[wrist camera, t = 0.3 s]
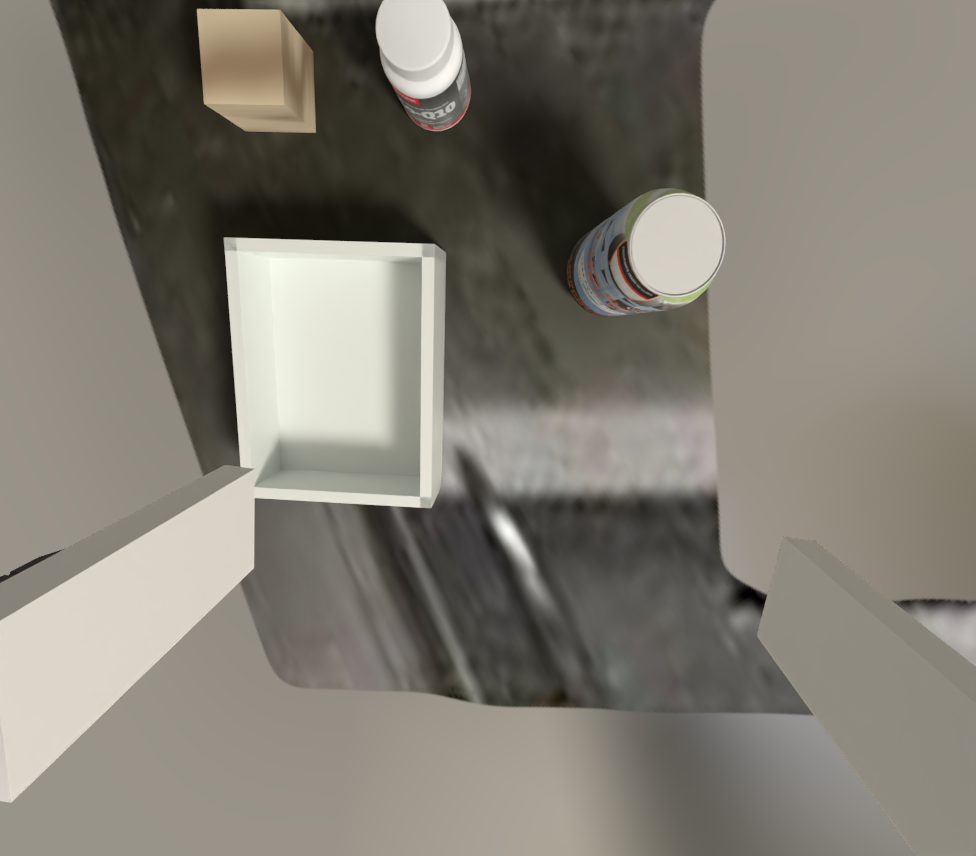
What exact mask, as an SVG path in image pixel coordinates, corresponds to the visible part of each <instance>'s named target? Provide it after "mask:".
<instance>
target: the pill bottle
mask: <svg viewBox="0 0 976 856" xmlns="http://www.w3.org/2000/svg"><path fill="white" fill-rule="evenodd" d="M376 37H377V41H378V44H379V47H380V58H381V63H382V66H383V69H384V72H385V74H386V76H387V78H388V80H389V82H390V83H391V85H392V87H393V89H394V90H395V92H396V94H397V96H398V98H399V99H400V101H401V103H402V105H403V107H404V109H405V111H406V112H407V114H408V115H409V117H410V118H411V119H412V120H413V121H414V122H415V123H416V124H417V125H419V126H420V127H422V128H424V129H427V130H431V131H443V130H446V129H449V128H451V127H452V126H454V125H455V124H457V123H458V122H459V121H460V120H461V119H462V117H463V116H464V114H465V112H466V110H467V108H468V105H469V102H470V97H471V85H470V79H469V75H468V70H467V65H466V60H465V55H464V51H463V46H462V40H461V37H460V34H459V31H458V29H457V26H456V24H455V23H454V21H453V20H452V18H451V17H450V15H449V12H448V10H447V7H446V5H445V3H444V2H443V0H383V2H382V3H381V5H380V8H379V10H378V13H377V17H376Z"/></svg>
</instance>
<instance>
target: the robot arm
mask: <svg viewBox="0 0 976 856" xmlns="http://www.w3.org/2000/svg"><path fill="white" fill-rule="evenodd" d="M254 484H255V469H252V468H244V467H236V466H229V465H224V466H222V467H220V468H218V469H216V470H215V471H213V472H211V473H209V474H207V475H205V476H203V477H201V478H199V479H197V480H195V481H194V482H192V483H190V484H188V485H186V486H184V487H182V488H180V489H178V490H176V491H175V492H173V493H171V494H169V495H167V496H165V497H163V498H161V499H159V500H158V501H156V502H154V503H152V504H150V505H148V506H146V507H144V508H142V509H140V510H139V511H136V512H135V513H133V514H131V515H129V516H127V517H125V518H123V519H121V520H119V521H117V522H116V523H114V524H112V525H110V526H108V527H106V528H104V529H102V530H100V531H98V532H97V533H95V534H93V535H91V536H89V537H87V538H85V539H83V540H81V541H79V542H77V543H75V544H74V545H72V546H70V547H68V548H66V549H63V550H60V551H57V552H54V553H51V554H48V555H44V556H41V557H38V558H37V559H35V560H33V561H31V562H29V563H27V564H25V565H23V566H21V567H19V568H17V569H15V570H13V571H11V572H10V574H9V576H8V575H4V576H1V577H0V801H4V802H12V801H13V800H14V799H15V798H17V796H19V795H20V794H21V792H23V791H24V790H25V789H26V788H27V787H28V786H29V785H30V784H31V783H32V782H33V781H34V780H35V779H36V778H37V777H38V776H39V775H40V774H41V773H42V772H43V771H44V770H45V769H46V768H48V766H50V764H52V763H53V762H54V761H55V760H56V759H57V758H58V757H59V756H60V755H61V754H62V753H63V752H64V751H65V750H66V749H67V748H68V747H69V746H70V745H71V744H72V743H73V742H74V741H75V740H77V739H78V738H79V736H81V735H82V734H83V733H84V732H85V731H86V730H87V729H88V728H89V727H90V726H91V725H92V724H93V723H94V722H95V721H96V720H97V719H98V718H99V717H100V716H101V715H102V714H103V713H104V712H105V711H107V710H108V709H109V708H110V707H111V706H112V705H113V704H114V703H115V702H116V701H117V700H118V699H119V698H120V697H121V696H122V695H123V694H124V693H125V692H126V691H127V690H128V689H129V688H130V687H131V686H132V685H133V684H134V683H135V682H136V681H138V680H139V679H140V678H141V677H142V676H143V675H144V674H145V673H146V672H147V671H148V670H149V669H150V668H151V667H152V666H153V665H154V664H155V663H156V662H157V661H158V660H159V659H160V658H161V657H162V656H163V655H164V654H165V653H166V652H168V651H169V650H170V649H171V648H172V647H173V646H174V644H176V643H177V642H178V641H179V640H180V639H181V638H182V637H183V636H184V635H185V634H186V633H187V632H188V631H189V630H190V629H191V628H192V627H193V626H194V625H195V624H196V623H198V622H199V621H200V620H201V619H202V618H203V617H204V616H205V615H206V614H207V613H208V612H209V611H210V610H211V609H212V608H213V607H214V606H215V605H216V604H217V603H218V602H219V601H220V600H221V599H222V598H223V597H224V596H225V595H226V594H227V593H228V592H230V591H231V590H232V589H233V588H234V587H235V586H236V585H237V584H238V583H239V582H240V581H241V580H242V579H243V578H244V577H245V576H246V575H247V574H248V573H249V572H250V571H251V570H252V569H253V568H254ZM757 637H758V638H759V640H760V641H761V643H762V644H763V645H764V647H765V648H766V649H767V651H768V652H769V654H770V655H771V656H772V658H773V659H774V661H775V662H776V663H777V665H778V666H779V667H780V669H781V670H782V672H783V673H784V674H785V676H786V677H787V679H788V680H789V681H790V683H791V684H792V685H793V687H794V688H795V690H796V691H797V692H798V694H799V695H800V697H801V698H802V699H803V701H804V702H805V703H806V705H807V706H808V708H809V709H810V710H811V712H812V713H813V715H814V716H815V717H816V719H817V720H818V721H819V723H820V724H821V726H822V727H823V728H824V730H825V731H826V733H827V734H828V735H829V737H830V738H831V740H832V741H833V742H834V744H835V745H836V746H837V748H838V749H839V750H840V752H841V753H842V755H843V756H844V758H845V759H846V760H847V761H848V763H849V764H850V766H851V767H852V769H853V770H854V771H855V773H856V774H857V776H858V777H859V778H860V780H861V781H862V782H863V784H864V785H865V786H866V788H867V789H868V791H869V792H870V794H871V795H872V796H873V798H874V799H875V800H876V802H877V803H878V804H879V806H880V807H881V809H882V810H883V812H884V813H885V814H886V816H887V817H888V819H889V820H890V821H891V822H892V824H893V825H894V827H895V828H896V830H897V831H898V832H899V834H900V835H901V836H902V838H903V839H904V841H905V842H906V843H907V845H908V846H909V848H910V849H911V850H912V852H913V853H914V855H915V856H976V667H975V666H974V665H973V664H971V663H970V662H969V661H968V660H966V659H965V658H964V657H963V656H961V655H960V654H959V653H957V652H956V651H955V650H954V649H952V648H951V647H950V646H949V645H947V644H946V643H945V642H943V641H942V640H941V639H940V638H938V637H937V636H936V635H935V634H933V633H932V632H931V631H929V630H928V629H927V628H926V627H924V626H923V625H922V624H921V623H919V622H918V621H917V620H915V619H914V618H913V617H912V616H910V615H909V614H908V613H907V612H905V611H904V610H903V609H901V608H900V607H899V606H898V605H896V604H895V603H894V602H893V601H891V600H890V599H889V598H887V597H886V596H885V595H883V594H882V593H881V592H880V591H878V590H877V589H876V588H875V587H873V586H872V585H871V584H870V583H868V582H867V581H866V580H865V579H863V578H862V577H861V576H859V575H858V574H857V573H856V572H854V571H853V570H852V569H850V568H849V567H848V566H847V565H845V564H844V563H843V562H842V561H840V560H839V559H838V558H837V557H835V556H834V555H833V554H831V553H830V552H829V551H828V550H826V549H825V548H824V547H823V546H821V545H820V544H819V543H817V542H816V541H815V540H807V539H799V538H791V537H783V539H782V542H781V546H780V549H779V553H778V557H777V561H776V565H775V568H774V573H773V576H772V580H771V584H770V588H769V591H768V595H767V599H766V602H765V606H764V610H763V614H762V618H761V621H760V625H759V629H758V633H757Z"/></svg>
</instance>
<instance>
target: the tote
mask: <svg viewBox="0 0 976 856" xmlns="http://www.w3.org/2000/svg"><path fill="white" fill-rule="evenodd" d="M224 247H225V260H226V274H227V288H228V301H229V315H230V328H231V342H232V355H233V369H234V383H235V396H236V410H237V423H238V437H239V450H240V464H241V467H244V468H252V469H255V484H254V498H266V499H283V500H300V501H317V502H334V503H351V504H369V505H386V506H403V507H420V508H432V505H433V503H434V501H435V499H436V497H437V494H438V492H439V490H440V488H441V486H442V452H443V396H444V340H445V283H446V252H444V251H443V250H442V249H440V248H439V247H438V246H437V245H435V244H420V243H388V242H356V241H324V240H291V239H259V238H227V237H224Z"/></svg>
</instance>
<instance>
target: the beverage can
mask: <svg viewBox="0 0 976 856" xmlns="http://www.w3.org/2000/svg"><path fill="white" fill-rule="evenodd" d="M724 252H725V232H724V228H723V225H722V222H721V220H720V218H719V216H718V214H717V213H716V211H715V210H714V208H713V207H712V206H711V205H710V204H708V203H707V202H706V201H705V200H703V199H701V198H700V197H697V196H695V195H693V194H692V193H689V192H686V191H684V190H679V189H673V188H666V189H658V190H653V191H650V192H648V193H645V194H643V195H641V196H639V197H638V198H636V199H635V200H633V201H632V202H630V203H629V204H627V205H626V206H625V207H623V208H622V209H620V210H619V211H618V212H616V213H615V214H613V215H612V216H610V217H609V218H608V219H606V220H605V221H603V222H602V223H601V224H599V225H598V226H596V227H595V228H593V229H592V230H591V231H589V232H588V233H586V234H585V235H584V236H583V237H582V238H581V239H579V240H578V242H577V243H576V244H575V246H574V247H573V249H572V251H571V253H570V255H569V258H568V261H567V267H566V279H567V284H568V287H569V290H570V293H571V294H572V296H573V298H574V299H575V301H576V302H577V303H578V304H579V305H580V306H581V307H582V308H584V309H585V310H587V311H588V312H590V313H592V314H595V315H599V316H618V315H627V314H636V313H645V312H654V311H663V310H670V309H675V308H679V307H681V306H683V305H686V304H688V303H690V302H691V301H693V300H694V299H696V298H697V297H698V296H699V295H700V294H702V293H703V292H704V291H705V290H706V288H707V287H708V286H709V285H710V283H711V282H712V280H713V278H714V276H715V275H716V273H717V271H718V269H719V267H720V265H721V263H722V260H723V257H724Z"/></svg>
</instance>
